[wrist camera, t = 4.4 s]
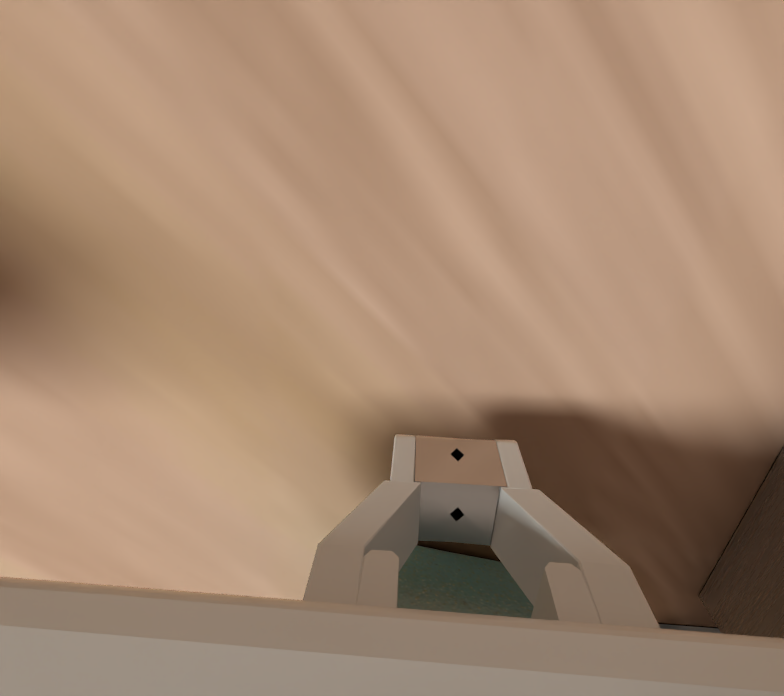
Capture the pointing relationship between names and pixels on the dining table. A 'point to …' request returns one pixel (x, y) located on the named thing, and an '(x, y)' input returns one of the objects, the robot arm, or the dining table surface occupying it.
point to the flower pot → (459, 585)
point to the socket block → (753, 567)
